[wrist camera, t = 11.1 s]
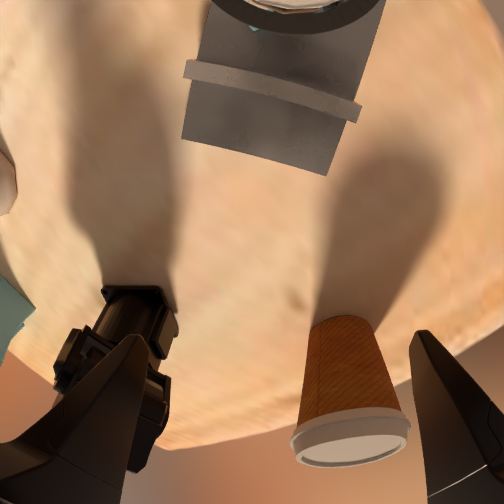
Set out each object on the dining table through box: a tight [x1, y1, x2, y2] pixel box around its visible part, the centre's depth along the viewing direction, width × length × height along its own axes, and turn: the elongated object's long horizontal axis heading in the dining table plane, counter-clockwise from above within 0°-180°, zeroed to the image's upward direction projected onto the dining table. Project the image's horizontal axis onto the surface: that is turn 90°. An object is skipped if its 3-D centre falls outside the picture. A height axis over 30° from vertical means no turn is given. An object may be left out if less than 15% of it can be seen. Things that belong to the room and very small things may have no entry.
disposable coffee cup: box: [290, 316, 411, 468], centre depth 24 cm, size 10×10×12 cm
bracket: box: [181, 0, 386, 176], centre depth 13 cm, size 16×9×3 cm, turn 167°
